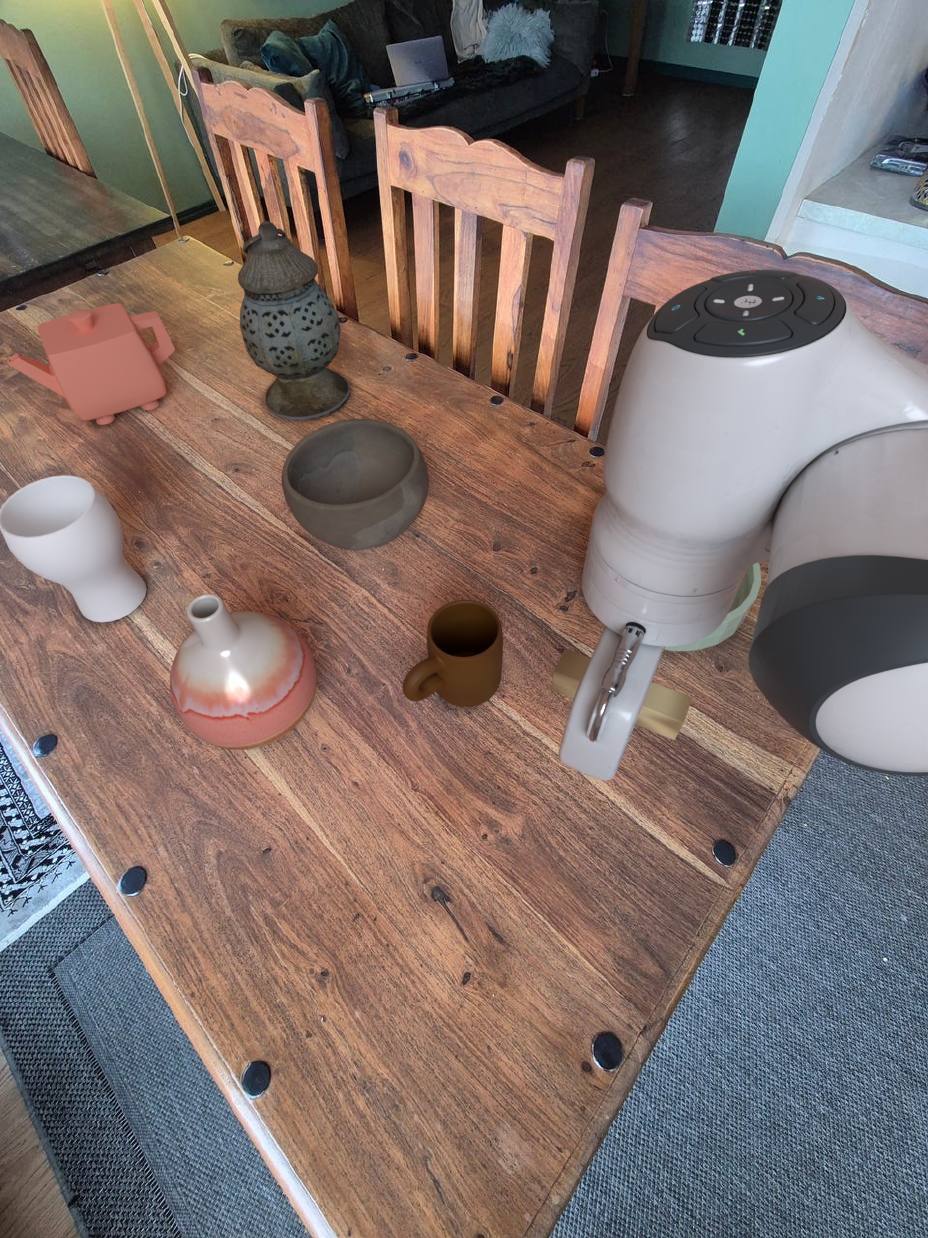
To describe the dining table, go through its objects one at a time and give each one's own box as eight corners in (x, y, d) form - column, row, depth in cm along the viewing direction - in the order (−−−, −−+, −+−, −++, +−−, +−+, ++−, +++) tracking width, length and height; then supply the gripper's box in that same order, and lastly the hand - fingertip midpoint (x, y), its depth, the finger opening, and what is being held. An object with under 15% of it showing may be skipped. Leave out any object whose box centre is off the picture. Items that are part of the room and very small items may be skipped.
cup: (72, 574, 80) (0, 481, 68) (160, 557, 81) (104, 463, 69) (62, 641, 74) (-19, 551, 62) (157, 621, 75) (96, 530, 63)
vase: (312, 640, 73) (271, 531, 59) (340, 743, 65) (300, 644, 51) (189, 677, 70) (116, 571, 56) (204, 788, 62) (123, 698, 48)
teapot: (54, 446, 96) (-3, 358, 84) (41, 403, 102) (-14, 317, 91) (198, 399, 102) (163, 312, 91) (177, 362, 109) (142, 277, 97)
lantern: (255, 421, 98) (197, 248, 78) (271, 370, 107) (223, 201, 87) (346, 419, 98) (311, 245, 78) (355, 367, 106) (325, 198, 87)
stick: (683, 715, 49) (692, 697, 47) (674, 740, 48) (683, 723, 46) (561, 667, 52) (565, 647, 50) (550, 690, 51) (553, 671, 48)
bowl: (272, 517, 85) (251, 456, 77) (379, 458, 92) (370, 398, 84) (346, 591, 77) (330, 532, 69) (457, 521, 84) (454, 460, 76)
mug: (437, 752, 64) (430, 706, 57) (386, 706, 68) (374, 657, 60) (515, 678, 69) (519, 626, 62) (465, 638, 73) (463, 585, 65)
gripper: (662, 735, 31) (615, 831, 42) (751, 482, 42) (695, 611, 53) (542, 686, 33) (527, 791, 44) (657, 456, 44) (622, 586, 55)
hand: (620, 691), depth 49 cm, fingers closed on stick, 2 cm apart
